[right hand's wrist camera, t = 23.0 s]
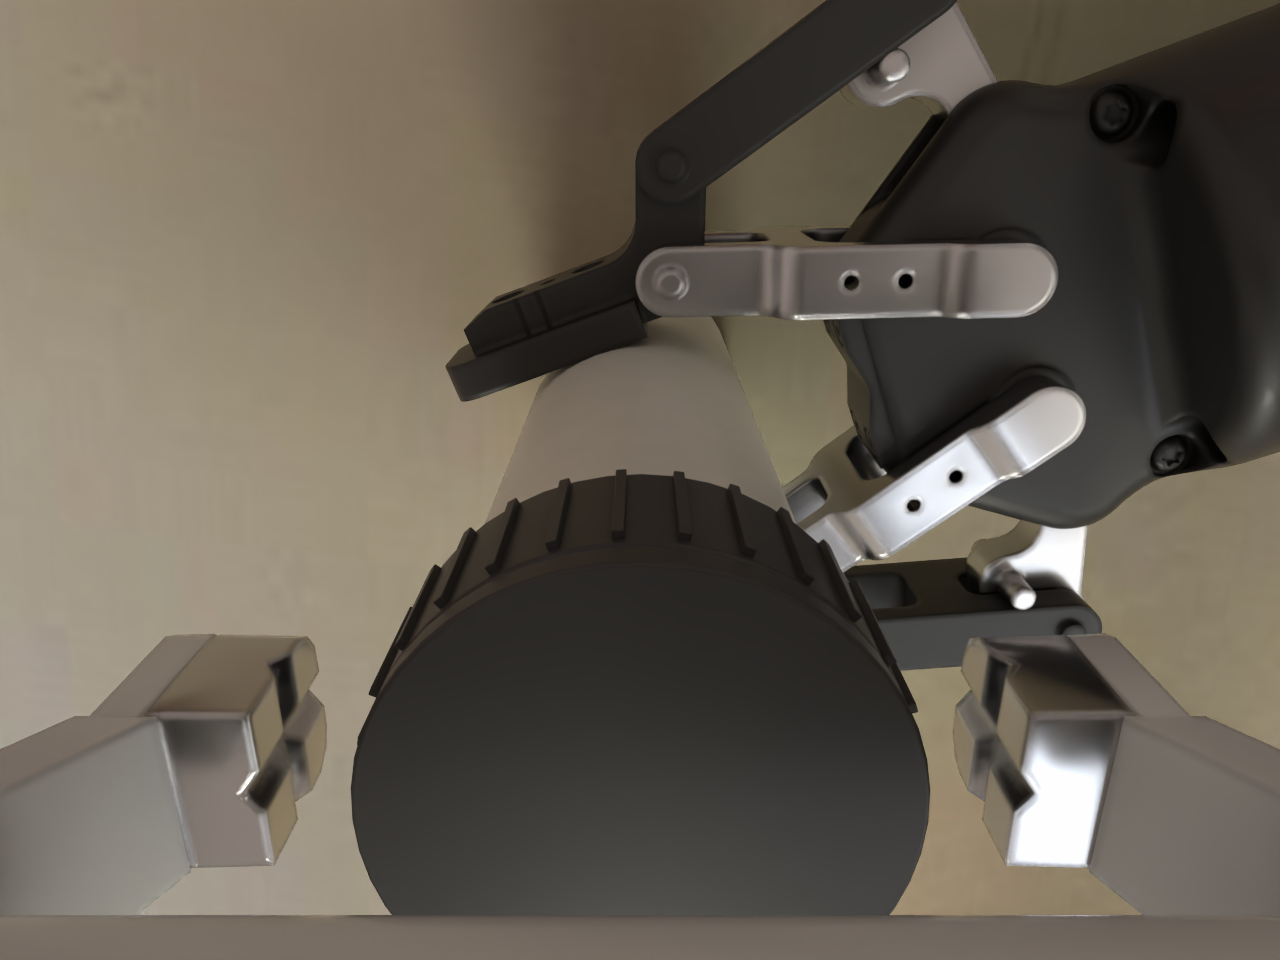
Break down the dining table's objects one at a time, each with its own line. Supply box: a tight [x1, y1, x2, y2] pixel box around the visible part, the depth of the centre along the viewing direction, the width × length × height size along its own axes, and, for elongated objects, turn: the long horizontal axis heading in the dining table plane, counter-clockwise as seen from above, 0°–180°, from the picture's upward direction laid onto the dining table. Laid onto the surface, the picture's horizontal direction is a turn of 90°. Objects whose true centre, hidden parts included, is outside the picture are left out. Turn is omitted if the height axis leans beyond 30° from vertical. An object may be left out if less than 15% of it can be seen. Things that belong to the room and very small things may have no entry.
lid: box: [351, 469, 930, 915], centre depth 9 cm, size 5×5×2 cm
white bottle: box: [485, 317, 796, 524], centre depth 17 cm, size 5×5×16 cm
